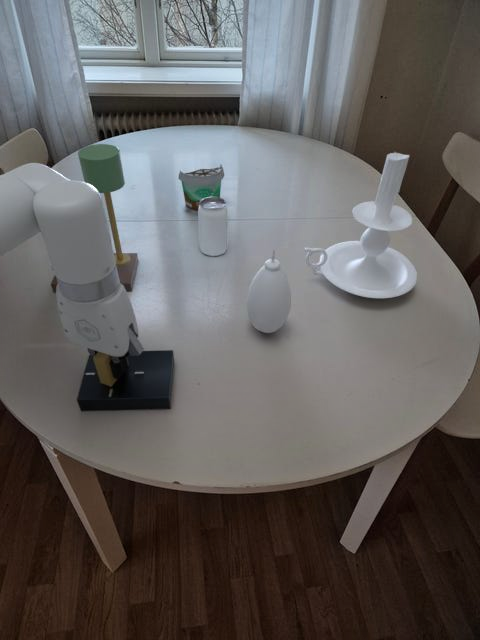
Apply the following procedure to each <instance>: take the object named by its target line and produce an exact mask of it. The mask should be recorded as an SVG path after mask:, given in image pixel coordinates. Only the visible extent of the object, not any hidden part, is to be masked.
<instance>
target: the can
mask: <svg viewBox="0 0 480 640" xmlns="http://www.w3.org/2000/svg"><path fill="white" fill-rule="evenodd" d="M197 215H198V216H197V218H198V236H199V237H198V238H199V250H200V252H201V253H202V254H204V255H205V256H208V257H219V256H222V255H223V254H225V253H226V252H227V250H228V207H227V205H226V201H225V200H224V198H221V197H220V198H219V197H207V198H204V199H202V200H201V201H200V206H199V208H198V211H197Z"/></svg>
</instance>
